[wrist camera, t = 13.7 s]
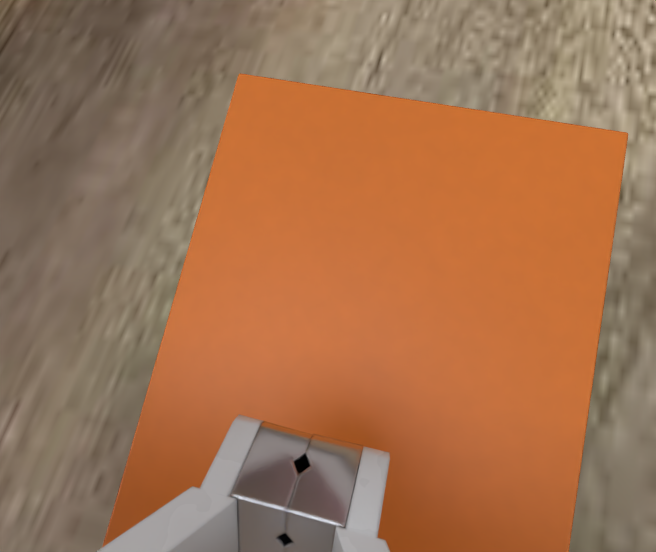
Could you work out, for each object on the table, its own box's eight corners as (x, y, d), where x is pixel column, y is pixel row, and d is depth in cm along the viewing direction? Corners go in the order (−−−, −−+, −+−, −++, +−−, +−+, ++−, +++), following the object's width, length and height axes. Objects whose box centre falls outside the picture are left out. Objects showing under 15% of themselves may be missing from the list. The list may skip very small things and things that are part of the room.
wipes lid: (244, 85, 17) (238, 72, 17) (617, 144, 16) (629, 131, 15) (110, 555, 15) (95, 565, 14) (537, 692, 13) (547, 712, 12)
